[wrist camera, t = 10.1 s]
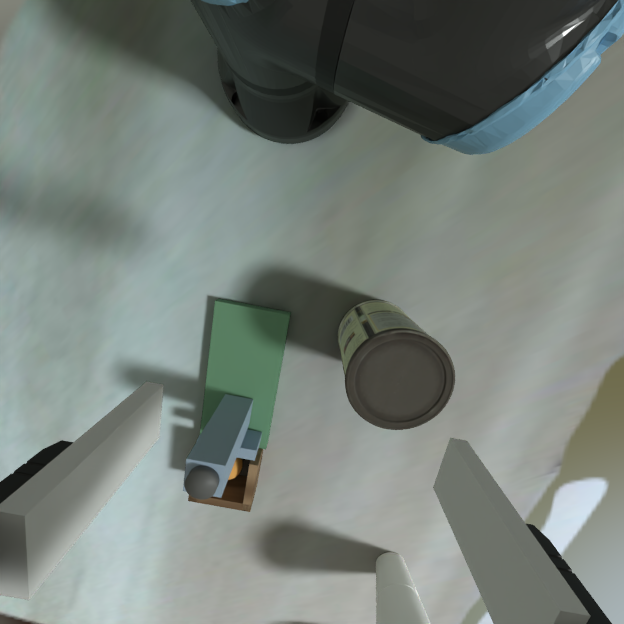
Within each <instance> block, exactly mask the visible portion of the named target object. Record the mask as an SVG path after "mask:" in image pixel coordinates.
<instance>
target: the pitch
mask: <svg viewBox="0 0 624 624" xmlns="http://www.w3.org/2000/svg"><path fill="white" fill-rule="evenodd" d="M290 315H291V312H286V311H281V310H276V309H271V308H265V307H260V306H255V305H250V304H244V303H239V302H234V301H229V300H223V299H217V300H216V301H215V306H214V315H213V324H212V332H211V341H210V350H209V359H208V367H207V376H206V385H205V394H204V402H203V411H202V420H201V429H200V434H201V432H202V431H203V429H204V428H205V426H206V424H207V423H208V422H209V420H210V419H211V417H212V415H213V414H214V412H215V411H216V409H217V407H218V406H219V404H220V402H221V401H222V399H223V397H224V396H225V394H227V395H233V396H238V397H244V398H249V399H253V404H252V410H251V417H250V423H249V426H248V430H253V431H259V432H262V435H261V441H260V445H259V448H262V449H266V447H267V444H268V438H269V433H270V427H271V421H272V416H273V410H274V405H275V399H276V393H277V388H278V382H279V376H280V371H281V365H282V360H283V354H284V348H285V343H286V337H287V331H288V326H289V320H290Z"/></svg>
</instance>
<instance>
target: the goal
mask: <svg viewBox="0 0 624 624" xmlns="http://www.w3.org/2000/svg"><path fill="white" fill-rule="evenodd" d="M262 454H263V449H262V448H258V451H257V455H256V458H255V461H253V460H251V461H250V464H249V470H248V476H242V475H238V476H236V477H235V478H233V479H231V480H228V481H227V484H226V486H225V489H224V492H223V494H222V497H221V498H219V497H214V496H212V497H210V498H208V499H204V500H200V499H196V498H193V497H192V496H190V495H189V498H188V501H192V502H197V503H203V504H209V505H214V506H220V507H225V508H231V509H237V510H242V511H248V512H250V510H251V506H252V502H253V498H254V495H255V491H256V487H257V482H258V476H259V471H260V465H261V459H262Z"/></svg>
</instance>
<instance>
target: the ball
mask: <svg viewBox="0 0 624 624" xmlns="http://www.w3.org/2000/svg"><path fill="white" fill-rule="evenodd" d="M242 466H243V460H242V458H236V460H235V463H234V465H233V468H232V471H231V473H230V476H229V478H228V480H231V479H233V478H235V477H236V476H238V475H239V473H240V472H241V470H242Z"/></svg>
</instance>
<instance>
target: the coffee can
mask: <svg viewBox="0 0 624 624" xmlns="http://www.w3.org/2000/svg"><path fill="white" fill-rule="evenodd" d="M338 343H339V347H340V351H341V357H342V362H343V369H344V374H345V387H346V393H347V396H348V399H349V402H350V404H351V405H352V407H353V408H354V410H355V411H356V412H357V413H358V414H359V415H360V416H361V417H362V418H363V419H365V420H366V421H368V422H369V423H371V424H373V425H375V426H378V427H381V428H385V429H391V430H403V429H410V428H414V427H417V426H420V425H422V424H424V423H426V422H428V421H429V420H431V419H433V418H434V417H435V416H437V415H438V414H439V413H440V412H441V411H442V409H443V408H444V407H445V406H446V404H447V403H448V401H449V399H450V397H451V395H452V392H453V389H454V384H455V370H454V366H453V362H452V360H451V357H450V356H449V354H448V352H447V351H446V349H445V348H444V347H443V346H442V345H441V344H440V343H439V342H438V341H436V340H435V339H434V338H432V337H431V336H429V335H428V334H427V333H426V332H425V331H423V330H422V329H421V328H420V327H419V326H418V325H417V324H416V323H415V322H413V321H412V320H411V319H410V318H409V317H408V316H407V315H406V314H405V313H404V312H403V311H402V310H401V309H400V308H399V307H397V306H396V305H394V304H392V303H390V302H386V301H381V300H371V301H366V302H363V303H360V304H358V305H356V306H355V307H353V308H352V309H351V310H350V311H348V312H347V314H346V315H345V316H344V318H343V319H342V321H341V324H340V326H339V330H338Z"/></svg>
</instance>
